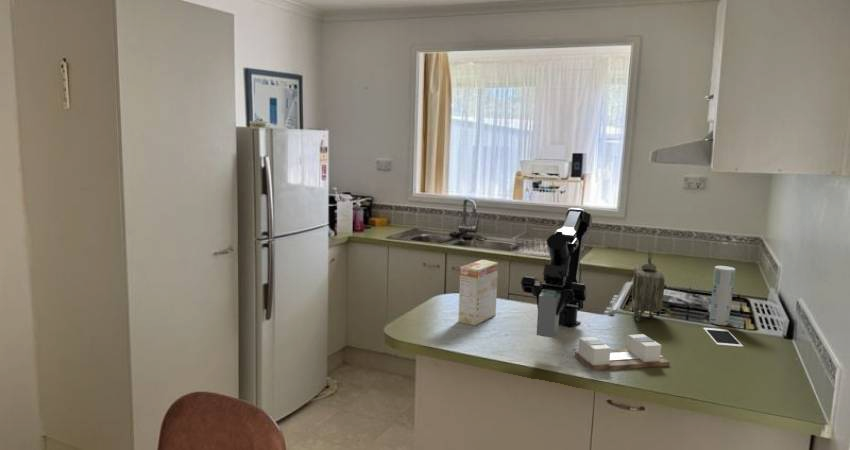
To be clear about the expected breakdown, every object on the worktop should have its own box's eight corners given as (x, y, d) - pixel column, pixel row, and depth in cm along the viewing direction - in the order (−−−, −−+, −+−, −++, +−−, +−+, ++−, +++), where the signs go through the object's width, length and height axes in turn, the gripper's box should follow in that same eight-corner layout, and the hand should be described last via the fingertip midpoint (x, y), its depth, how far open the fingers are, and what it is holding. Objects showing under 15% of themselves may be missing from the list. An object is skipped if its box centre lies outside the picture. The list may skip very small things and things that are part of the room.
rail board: (592, 370, 163) (593, 365, 163) (574, 355, 174) (575, 350, 173) (669, 365, 168) (669, 360, 168) (647, 351, 179) (647, 346, 178)
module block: (541, 328, 176) (543, 289, 174) (558, 331, 174) (560, 292, 171) (536, 335, 170) (539, 294, 168) (553, 338, 168) (556, 297, 166)
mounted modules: (593, 365, 164) (594, 348, 163) (578, 353, 172) (579, 336, 172) (659, 360, 168) (661, 344, 168) (641, 349, 177) (643, 333, 176)
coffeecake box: (479, 311, 213) (481, 259, 210) (496, 315, 209) (499, 262, 206) (457, 321, 201) (459, 266, 198) (474, 326, 197) (477, 269, 194)
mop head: (630, 310, 219) (636, 245, 215) (656, 313, 217) (662, 247, 212) (633, 322, 205) (639, 253, 201) (660, 325, 203) (667, 255, 199)
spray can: (730, 326, 204) (737, 270, 201) (709, 323, 206) (716, 268, 203) (727, 320, 211) (733, 266, 207) (707, 318, 213) (713, 264, 209)
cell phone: (727, 331, 201) (727, 329, 201) (743, 348, 185) (743, 346, 185) (702, 329, 202) (703, 327, 202) (717, 345, 186) (717, 344, 186)
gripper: (524, 249, 175) (512, 294, 167) (588, 257, 168) (578, 304, 160) (529, 269, 184) (518, 313, 176) (590, 277, 176) (581, 323, 168)
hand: (547, 313), depth 170 cm, fingers closed on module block, 5 cm apart
